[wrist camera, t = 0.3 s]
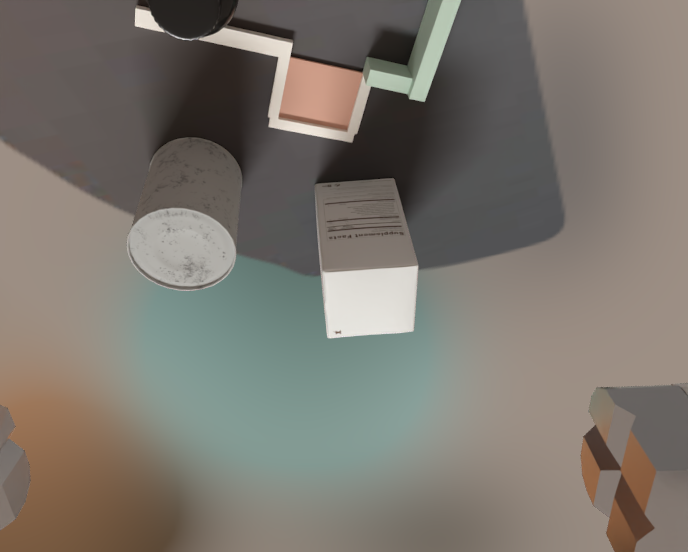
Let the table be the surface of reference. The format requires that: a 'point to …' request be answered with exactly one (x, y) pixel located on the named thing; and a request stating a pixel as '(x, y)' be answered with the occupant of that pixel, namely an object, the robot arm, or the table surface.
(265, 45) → the trap lane
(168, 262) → the speckled concrete cylinder
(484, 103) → the table surface
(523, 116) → the table surface
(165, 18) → the supplement bottle
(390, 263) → the supplement box
